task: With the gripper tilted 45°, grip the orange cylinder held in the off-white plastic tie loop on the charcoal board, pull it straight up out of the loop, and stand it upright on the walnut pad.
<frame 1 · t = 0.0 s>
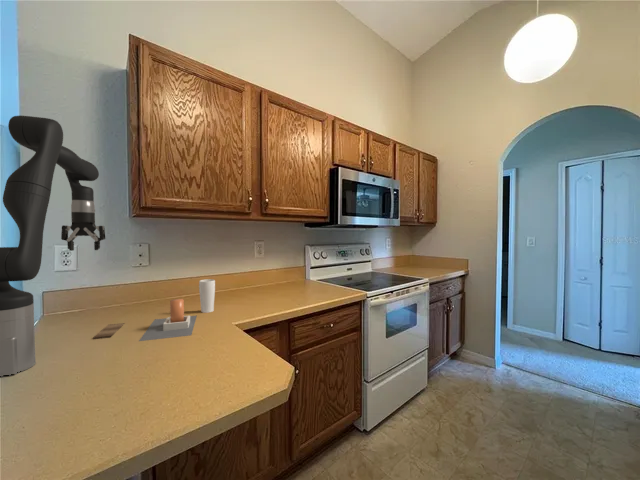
hand: (84, 250, 117), 29 cm above the counter, tool pointing down, fingers open, 8 cm apart
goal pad: (123, 329, 106), on the counter
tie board: (171, 329, 107), on the counter
drinking glass: (207, 313, 128), on the counter
orange cylinder: (177, 326, 108), point 1 cm above the counter, touching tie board
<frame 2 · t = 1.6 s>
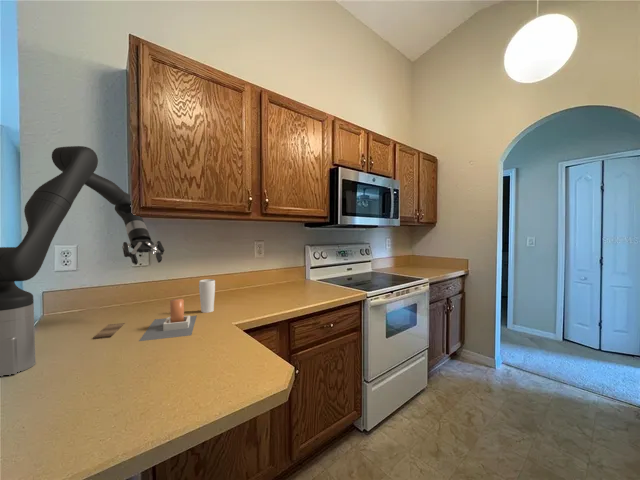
hand: (148, 262, 113), 25 cm above the counter, tool tilted 45°, fingers open, 8 cm apart
nothing on the counter moved.
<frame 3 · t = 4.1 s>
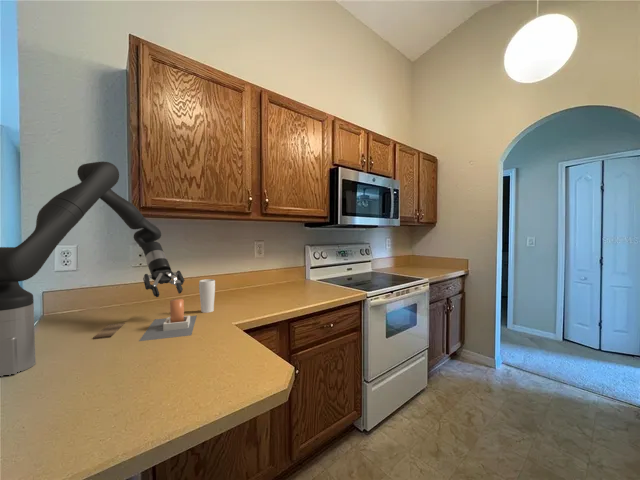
hand: (169, 294, 112), 12 cm above the counter, tool tilted 45°, fingers open, 8 cm apart
nothing on the counter moved.
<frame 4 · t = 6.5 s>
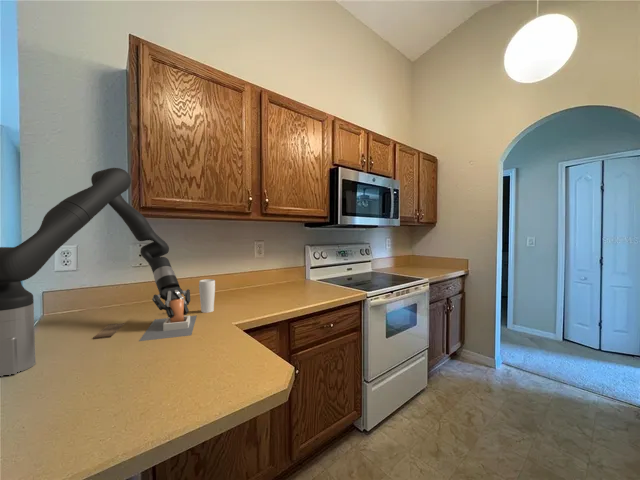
hand: (179, 315, 106), 6 cm above the counter, tool tilted 45°, fingers closed on orange cylinder, 4 cm apart
orange cylinder: (177, 326, 108), point 1 cm above the counter, touching gripper, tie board
everything else where it was.
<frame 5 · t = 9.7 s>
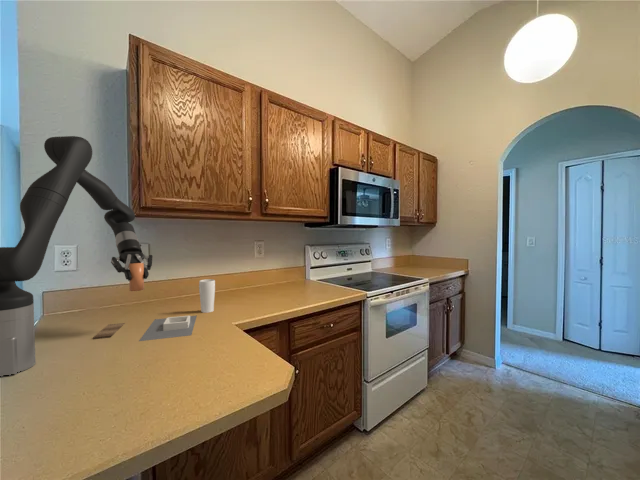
hand: (138, 278, 104), 20 cm above the counter, tool tilted 45°, fingers closed on orange cylinder, 4 cm apart
orange cylinder: (136, 289, 106), point 15 cm above the counter, touching gripper
everything else where it was.
when the fingers open (7 cm above the counter, at t = 13.1 s): orange cylinder drops 1 cm, resting on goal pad.
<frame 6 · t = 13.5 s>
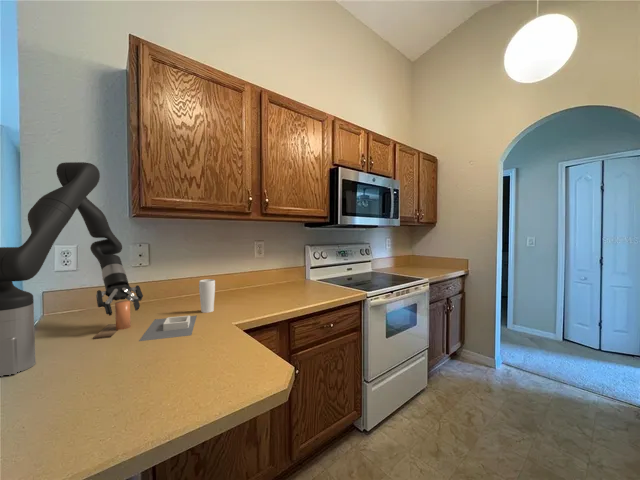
hand: (124, 311, 105), 7 cm above the counter, tool tilted 45°, fingers open, 8 cm apart
orange cylinder: (123, 328, 106), point 1 cm above the counter, touching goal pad
everything else where it was.
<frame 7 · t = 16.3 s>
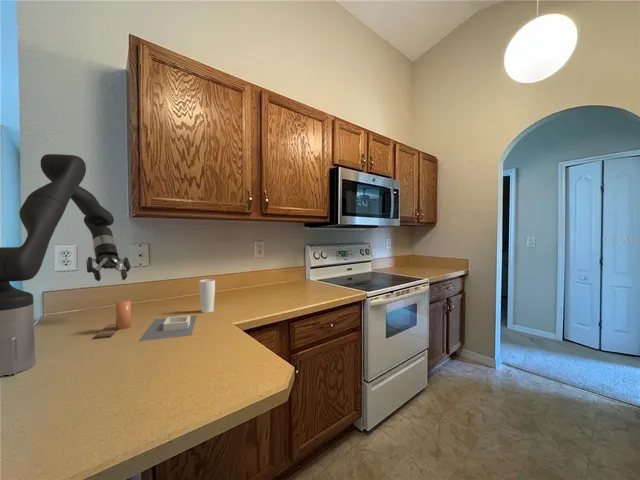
hand: (112, 279, 112), 18 cm above the counter, tool tilted 40°, fingers open, 8 cm apart
nothing on the counter moved.
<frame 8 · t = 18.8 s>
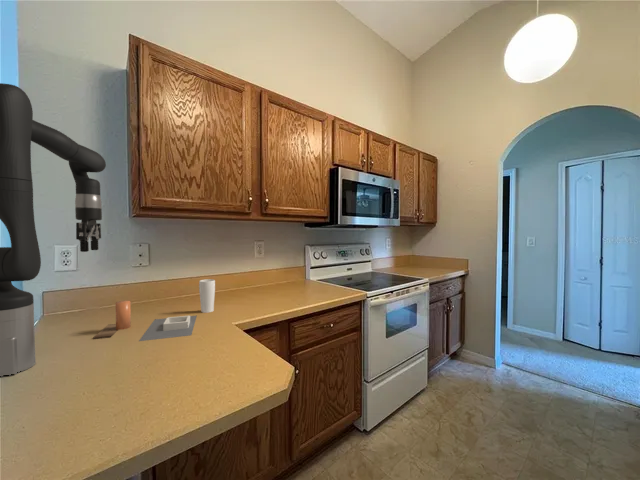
hand: (89, 250, 104), 30 cm above the counter, tool pointing down, fingers open, 8 cm apart
nothing on the counter moved.
at the end: orange cylinder inside the target area on the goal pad (0.1 cm from its centre), point 0.7 cm above the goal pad's base; orange cylinder tilted 2°; the gripper is holding nothing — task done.
